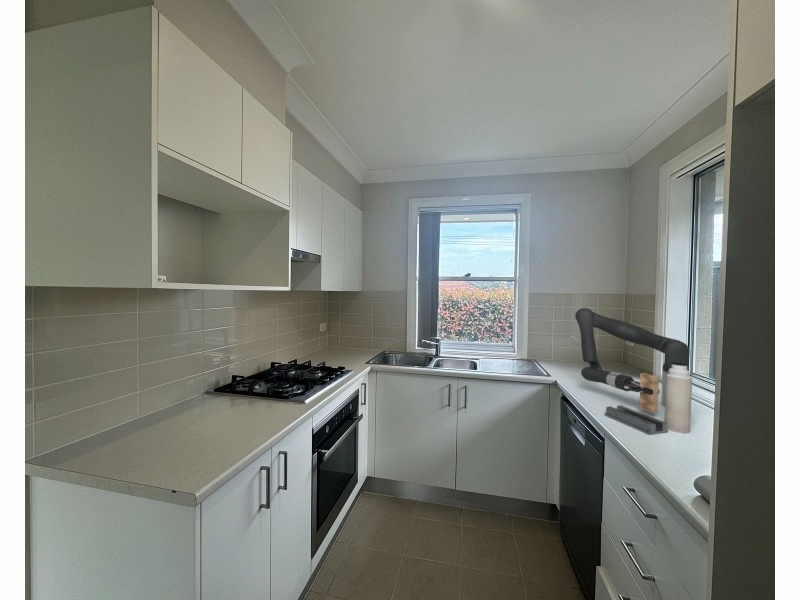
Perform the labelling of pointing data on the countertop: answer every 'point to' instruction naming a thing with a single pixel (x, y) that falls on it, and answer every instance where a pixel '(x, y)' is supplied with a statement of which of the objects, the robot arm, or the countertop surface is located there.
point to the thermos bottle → (678, 398)
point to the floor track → (637, 420)
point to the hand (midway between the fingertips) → (655, 391)
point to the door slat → (646, 399)
